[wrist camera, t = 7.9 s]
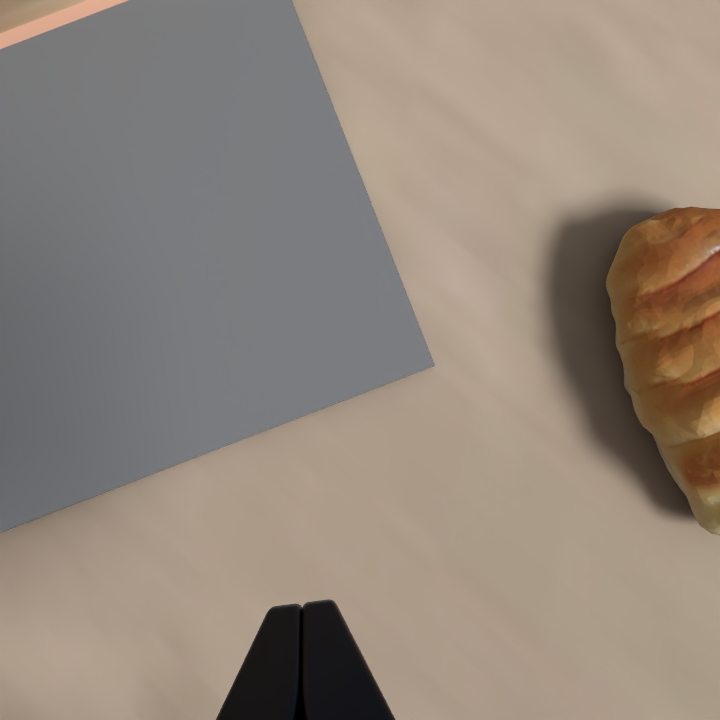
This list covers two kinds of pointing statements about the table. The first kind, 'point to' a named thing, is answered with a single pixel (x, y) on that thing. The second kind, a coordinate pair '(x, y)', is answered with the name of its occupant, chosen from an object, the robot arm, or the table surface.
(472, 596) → the table surface
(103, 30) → the mat
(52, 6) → the t block
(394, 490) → the table surface
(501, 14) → the table surface
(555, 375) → the table surface
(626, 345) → the pastry
